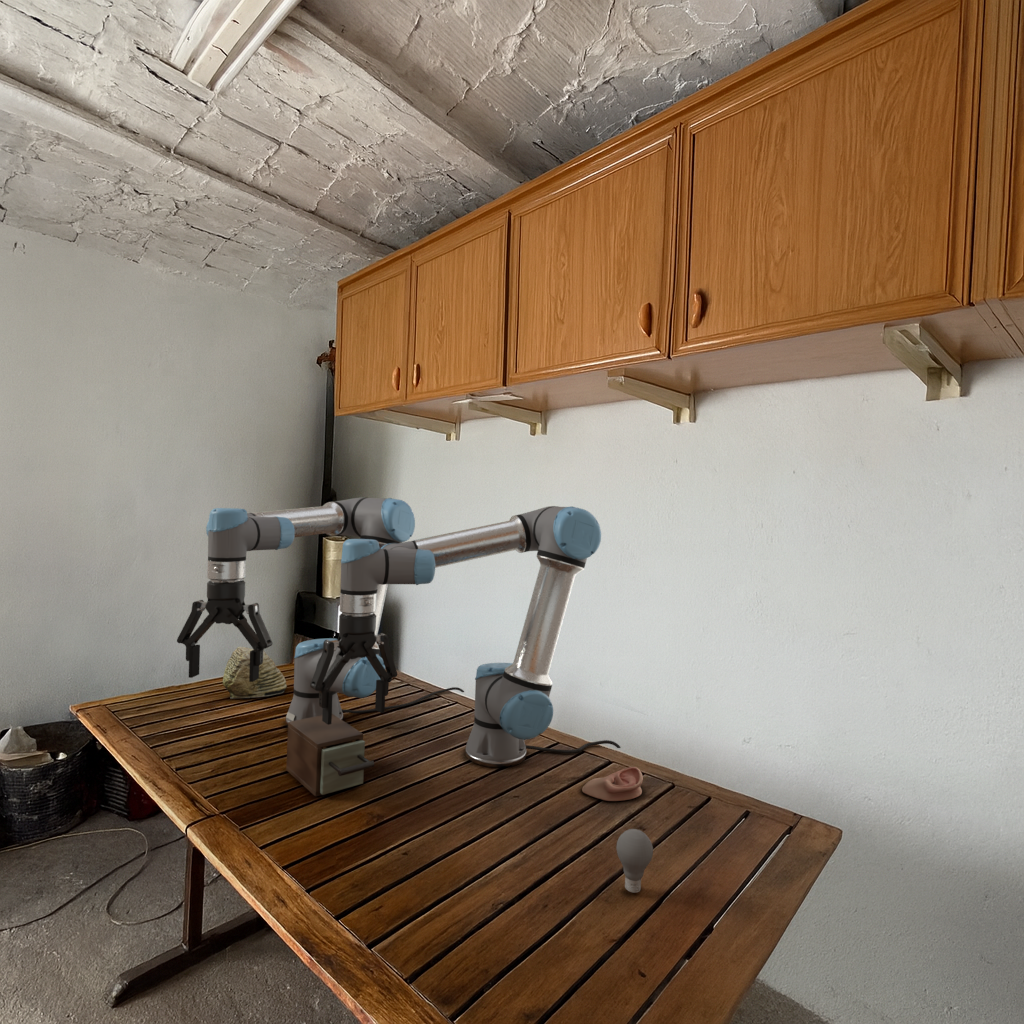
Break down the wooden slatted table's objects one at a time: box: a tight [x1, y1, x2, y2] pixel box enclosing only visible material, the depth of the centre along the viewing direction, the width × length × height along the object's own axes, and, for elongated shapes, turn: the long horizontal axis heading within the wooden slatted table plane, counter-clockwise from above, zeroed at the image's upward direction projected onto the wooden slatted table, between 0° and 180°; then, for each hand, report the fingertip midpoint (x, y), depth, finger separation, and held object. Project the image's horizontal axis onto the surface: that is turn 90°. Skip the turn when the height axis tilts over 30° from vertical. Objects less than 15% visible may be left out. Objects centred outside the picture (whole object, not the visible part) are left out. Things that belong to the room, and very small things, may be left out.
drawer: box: [320, 739, 375, 796], centre depth 139 cm, size 21×9×9 cm, turn 41°
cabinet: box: [285, 714, 364, 797], centre depth 143 cm, size 16×11×11 cm, turn 41°
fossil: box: [222, 646, 288, 699], centre depth 198 cm, size 9×18×15 cm, turn 132°
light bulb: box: [615, 828, 654, 894], centre depth 106 cm, size 6×6×10 cm
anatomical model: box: [581, 766, 644, 802], centre depth 142 cm, size 13×4×12 cm
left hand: (223, 678), depth 137 cm, fingers open, 13 cm apart
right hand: (354, 716), depth 133 cm, fingers open, 11 cm apart
